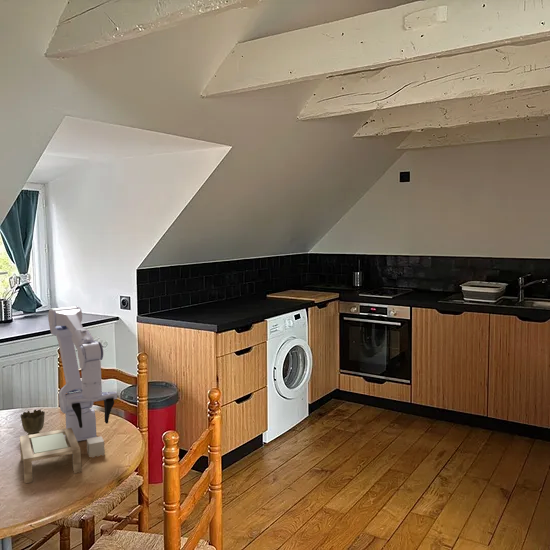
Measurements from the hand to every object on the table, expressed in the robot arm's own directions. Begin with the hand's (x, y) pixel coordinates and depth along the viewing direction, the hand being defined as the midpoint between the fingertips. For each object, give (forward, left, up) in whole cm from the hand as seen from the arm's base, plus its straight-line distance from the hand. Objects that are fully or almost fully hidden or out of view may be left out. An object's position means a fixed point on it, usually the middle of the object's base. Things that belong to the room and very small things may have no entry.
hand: (93, 424), depth 175 cm
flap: (+13, +2, -6) cm, 14 cm away
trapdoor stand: (+13, +2, -10) cm, 16 cm away
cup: (+16, -24, -10) cm, 30 cm away
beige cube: (0, 0, -10) cm, 10 cm away
